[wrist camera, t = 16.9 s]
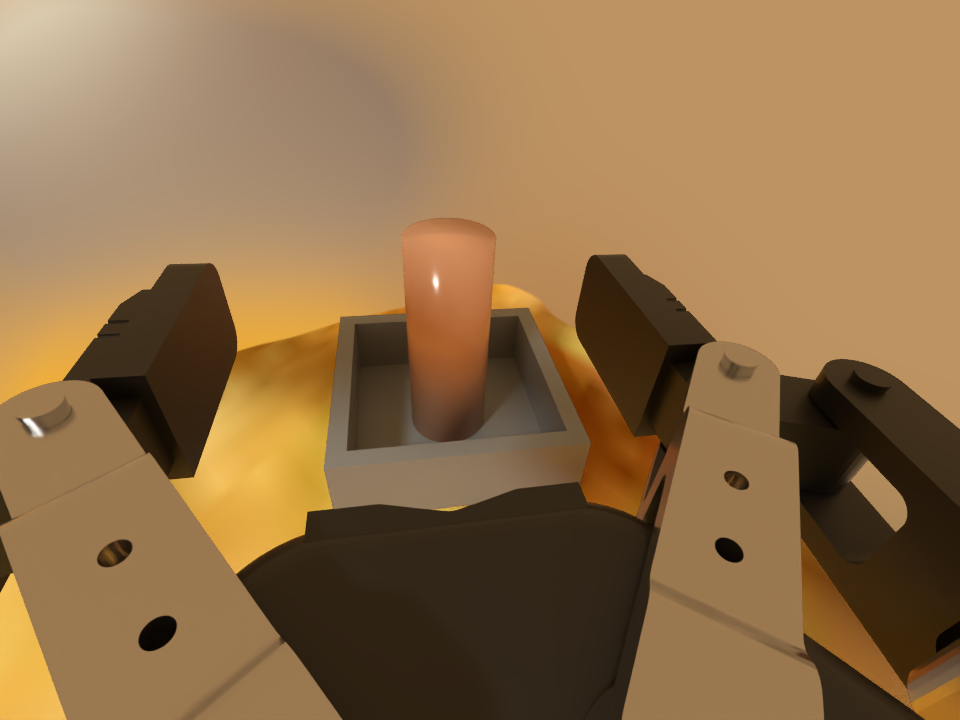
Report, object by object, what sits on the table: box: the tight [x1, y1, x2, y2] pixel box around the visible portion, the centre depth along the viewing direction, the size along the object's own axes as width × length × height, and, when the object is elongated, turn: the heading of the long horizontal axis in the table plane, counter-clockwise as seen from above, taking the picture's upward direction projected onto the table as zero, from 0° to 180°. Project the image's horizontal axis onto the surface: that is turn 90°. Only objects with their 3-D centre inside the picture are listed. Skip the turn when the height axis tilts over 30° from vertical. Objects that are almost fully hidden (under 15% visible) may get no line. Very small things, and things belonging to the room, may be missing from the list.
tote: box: [324, 308, 591, 509], centre depth 37 cm, size 16×16×5 cm
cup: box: [402, 218, 496, 442], centre depth 33 cm, size 6×6×15 cm
